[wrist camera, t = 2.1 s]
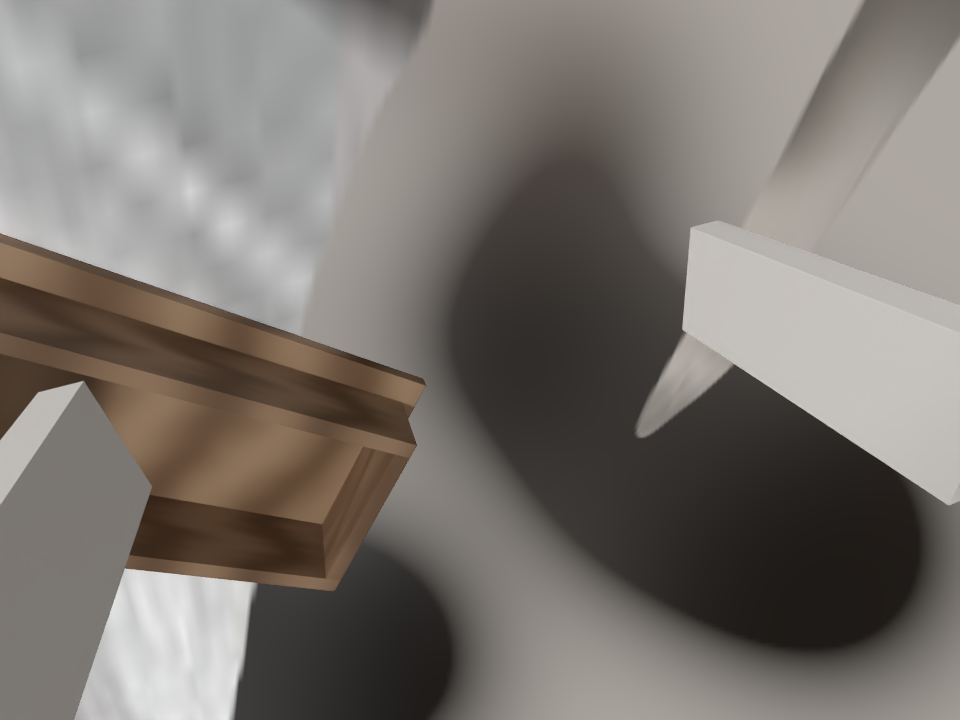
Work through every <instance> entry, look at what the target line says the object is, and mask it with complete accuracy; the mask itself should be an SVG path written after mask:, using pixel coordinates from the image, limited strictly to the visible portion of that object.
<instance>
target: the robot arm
mask: <svg viewBox="0 0 960 720" xmlns="http://www.w3.org/2000/svg"><path fill="white" fill-rule="evenodd" d="M682 329H683V330H684V331H685V332H687V333H688V334H690V335H691V336H693V337H694V338H696V339H698V340H699V341H701V342H702V343H704V344H705V345H707V346H708V347H710V348H711V349H713V350H714V351H716V352H717V353H719V354H720V355H722V356H723V357H725V358H726V359H728V360H729V361H731V362H732V363H734V364H735V365H737V366H739V367H740V368H742V369H743V370H744V371H746V372H748V373H749V374H751V375H752V376H754V377H755V378H757V379H758V380H760V381H761V382H763V383H764V384H766V385H767V386H769V387H770V388H772V389H773V390H775V391H776V392H778V393H779V394H781V395H782V396H784V397H785V398H787V399H788V400H790V401H791V402H793V403H794V404H796V405H797V406H799V407H801V408H802V409H803V410H805V411H807V412H808V413H810V414H811V415H813V416H814V417H816V418H817V419H819V420H820V421H822V422H824V423H825V424H826V425H828V426H829V427H831V428H832V429H834V430H835V431H837V432H838V433H840V434H842V435H843V436H845V437H846V438H847V439H849V440H851V441H852V442H854V443H855V444H857V445H858V446H860V447H861V448H863V449H864V450H866V451H867V452H869V453H870V454H872V455H873V456H875V457H876V458H878V459H879V460H881V461H882V462H884V463H885V464H887V465H888V466H890V467H891V468H893V469H894V470H896V471H898V472H899V473H900V474H902V475H903V476H905V477H906V478H908V479H910V480H911V481H912V482H914V483H916V484H917V485H919V486H920V487H922V488H923V489H925V490H926V491H928V492H929V493H931V494H932V495H934V496H935V497H937V498H938V499H940V500H941V501H943V502H944V503H946V504H947V505H951V504H953V503H955V502H958V501H960V305H959V304H956V303H953V302H950V301H947V300H944V299H941V298H939V297H936V296H933V295H930V294H927V293H924V292H921V291H919V290H916V289H913V288H910V287H907V286H904V285H901V284H899V283H896V282H893V281H890V280H887V279H884V278H881V277H879V276H876V275H873V274H870V273H867V272H864V271H861V270H858V269H856V268H853V267H850V266H847V265H844V264H841V263H839V262H835V261H833V260H830V259H827V258H824V257H821V256H819V255H816V254H813V253H810V252H807V251H804V250H801V249H798V248H796V247H793V246H790V245H787V244H784V243H781V242H778V241H776V240H773V239H770V238H767V237H764V236H761V235H758V234H756V233H753V232H750V231H747V230H744V229H741V228H738V227H736V226H733V225H730V224H727V223H724V222H721V221H715V222H711V223H707V224H703V225H699V226H695V227H691V232H690V244H689V257H688V268H687V280H686V292H685V304H684V316H683V328H682ZM151 489H152V485H151V484H150V482H149V481H148V479H147V478H146V476H145V475H144V473H143V472H142V470H141V468H140V467H139V465H138V464H137V462H136V461H135V459H134V458H133V456H132V455H131V453H130V451H129V450H128V448H127V447H126V445H125V444H124V442H123V441H122V439H121V438H120V436H119V435H118V433H117V431H116V430H115V428H114V427H113V425H112V424H111V422H110V421H109V419H108V418H107V416H106V414H105V413H104V411H103V410H102V408H101V407H100V405H99V404H98V402H97V401H96V399H95V397H94V396H93V394H92V393H91V391H90V390H89V388H88V387H87V385H86V384H85V382H84V381H81V382H77V383H73V384H69V385H65V386H62V387H58V388H54V389H50V390H46V391H42V392H38V393H37V395H36V396H35V397H34V398H33V400H32V401H31V402H30V403H29V405H28V406H27V407H26V408H25V410H24V411H23V412H22V414H21V415H20V416H19V417H18V419H17V420H16V421H15V422H14V424H13V425H12V426H11V427H10V429H9V430H8V431H7V433H6V434H5V435H4V436H3V438H2V439H1V440H0V720H74V718H75V715H76V712H77V709H78V706H79V703H80V700H81V697H82V694H83V691H84V688H85V685H86V682H87V679H88V676H89V673H90V670H91V667H92V664H93V661H94V658H95V655H96V652H97V649H98V646H99V643H100V640H101V637H102V634H103V631H104V628H105V625H106V622H107V620H108V617H109V614H110V611H111V608H112V605H113V602H114V599H115V596H116V593H117V590H118V587H119V584H120V581H121V578H122V575H123V572H124V569H125V566H126V563H127V560H128V557H129V554H130V551H131V548H132V545H133V542H134V539H135V536H136V533H137V530H138V527H139V524H140V521H141V518H142V515H143V512H144V509H145V506H146V503H147V500H148V498H149V495H150V492H151Z"/></svg>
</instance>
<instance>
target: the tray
mask: <svg viewBox="0 0 960 720" xmlns="http://www.w3.org/2000/svg"><path fill="white" fill-rule="evenodd" d="M81 381H84V382H85V384H86V385H87V387H88V388H89V390H90V391H91V393H92V394H93V396H94V397H95V399H96V401H97V402H98V404H99V405H100V407H101V408H102V410H103V411H104V413H105V414H106V416H107V418H108V419H109V421H110V422H111V424H112V425H113V427H114V428H115V430H116V431H117V433H118V435H119V436H120V438H121V439H122V441H123V442H124V444H125V445H126V447H127V448H128V450H129V451H130V453H131V455H132V456H133V458H134V459H135V461H136V462H137V464H138V465H139V467H140V468H141V470H142V472H143V473H144V475H145V476H146V478H147V479H148V481H149V482H150V484H151V485H152V489H151V492H150V495H149V498H148V500H147V503H146V506H145V509H144V512H143V515H142V518H141V521H140V524H139V527H138V530H137V533H136V536H135V539H134V542H133V545H132V548H131V551H130V554H129V557H128V560H127V563H126V566H125V568H126V569H136V570H145V571H154V572H163V573H172V574H181V575H191V576H200V577H209V578H218V579H227V580H237V581H246V582H255V583H264V584H274V585H282V586H292V587H301V588H310V589H319V590H328V591H335V589H336V587H337V585H338V584H339V582H340V580H341V578H342V576H343V575H344V573H345V571H346V570H347V568H348V566H349V564H350V563H351V561H352V559H353V557H354V555H355V554H356V552H357V550H358V548H359V547H360V545H361V543H362V541H363V540H364V538H365V536H366V534H367V532H368V531H369V529H370V527H371V525H372V523H373V522H374V520H375V518H376V517H377V515H378V513H379V511H380V509H381V508H382V506H383V504H384V502H385V501H386V499H387V497H388V495H389V494H390V492H391V490H392V488H393V487H394V485H395V483H396V481H397V480H398V478H399V476H400V474H401V473H402V471H403V469H404V467H405V465H406V464H407V461H408V460H409V458H410V457H411V455H412V453H413V451H414V450H415V448H416V446H417V444H416V441H415V439H414V436H413V433H412V430H411V427H410V424H409V421H408V418H409V416H410V414H411V412H412V410H413V409H414V407H415V405H416V403H417V402H418V400H419V398H420V396H421V394H422V392H423V391H424V389H425V387H426V384H425V382H424V380H423V379H422V378H419V377H417V376H414V375H411V374H408V373H405V372H402V371H399V370H396V369H393V368H390V367H387V366H384V365H381V364H379V363H376V362H373V361H370V360H367V359H364V358H361V357H358V356H355V355H352V354H349V353H346V352H344V351H341V350H338V349H335V348H331V347H329V346H326V345H323V344H320V343H317V342H314V341H311V340H309V339H306V338H303V337H300V336H297V335H294V334H291V333H288V332H285V331H282V330H279V329H276V328H273V327H271V326H268V325H265V324H262V323H259V322H256V321H253V320H250V319H247V318H244V317H241V316H238V315H235V314H233V313H230V312H227V311H224V310H221V309H218V308H215V307H212V306H209V305H206V304H203V303H200V302H198V301H195V300H192V299H189V298H186V297H183V296H180V295H177V294H174V293H171V292H168V291H165V290H162V289H160V288H157V287H154V286H151V285H148V284H145V283H142V282H139V281H136V280H133V279H130V278H127V277H125V276H122V275H119V274H116V273H113V272H110V271H107V270H104V269H101V268H98V267H95V266H92V265H89V264H87V263H84V262H81V261H78V260H75V259H72V258H69V257H66V256H63V255H60V254H57V253H54V252H51V251H49V250H46V249H43V248H40V247H37V246H34V245H31V244H28V243H25V242H22V241H19V240H16V239H14V238H11V237H8V236H5V235H2V234H0V440H1V439H2V438H3V436H4V435H5V434H6V433H7V431H8V430H9V429H10V427H11V426H12V425H13V424H14V422H15V421H16V420H17V419H18V417H19V416H20V415H21V414H22V412H23V411H24V410H25V408H26V407H27V406H28V405H29V403H30V402H31V401H32V400H33V398H34V397H35V396H36V395H37V393H38V392H42V391H46V390H50V389H54V388H58V387H62V386H65V385H69V384H73V383H77V382H81Z"/></svg>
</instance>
